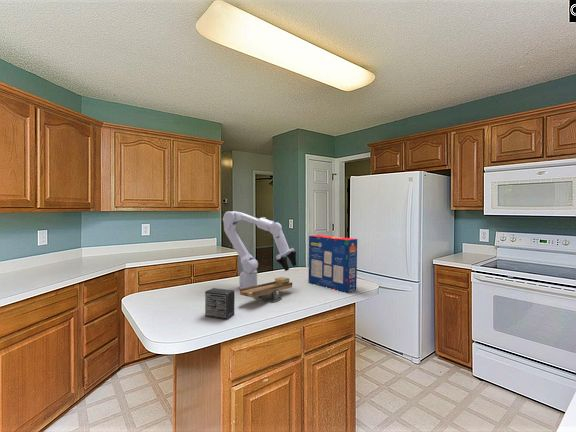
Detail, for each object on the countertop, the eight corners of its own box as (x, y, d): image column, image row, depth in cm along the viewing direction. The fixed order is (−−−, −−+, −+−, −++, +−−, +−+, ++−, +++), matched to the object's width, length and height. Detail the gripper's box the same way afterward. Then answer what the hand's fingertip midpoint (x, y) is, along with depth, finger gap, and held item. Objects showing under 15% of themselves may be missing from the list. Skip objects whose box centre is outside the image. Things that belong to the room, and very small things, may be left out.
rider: (274, 284, 155) (274, 278, 156) (281, 282, 160) (281, 277, 160) (282, 285, 153) (282, 279, 153) (289, 284, 158) (289, 278, 158)
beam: (239, 294, 136) (239, 289, 136) (279, 284, 162) (279, 280, 162) (253, 297, 132) (253, 292, 132) (292, 287, 157) (292, 282, 157)
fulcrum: (253, 298, 147) (253, 288, 147) (262, 294, 153) (262, 285, 153) (273, 303, 141) (273, 292, 140) (282, 299, 146) (282, 289, 146)
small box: (235, 314, 125) (235, 289, 125) (227, 320, 119) (227, 294, 119) (213, 311, 129) (213, 287, 128) (204, 316, 123) (204, 291, 122)
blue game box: (356, 290, 163) (357, 239, 162) (347, 293, 158) (348, 240, 157) (317, 280, 184) (318, 234, 183) (308, 282, 178) (309, 235, 177)
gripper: (279, 245, 153) (289, 270, 152) (294, 238, 165) (303, 262, 164) (269, 249, 157) (279, 273, 156) (284, 242, 169) (293, 265, 168)
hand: (291, 268), depth 160 cm, fingers open, 7 cm apart
